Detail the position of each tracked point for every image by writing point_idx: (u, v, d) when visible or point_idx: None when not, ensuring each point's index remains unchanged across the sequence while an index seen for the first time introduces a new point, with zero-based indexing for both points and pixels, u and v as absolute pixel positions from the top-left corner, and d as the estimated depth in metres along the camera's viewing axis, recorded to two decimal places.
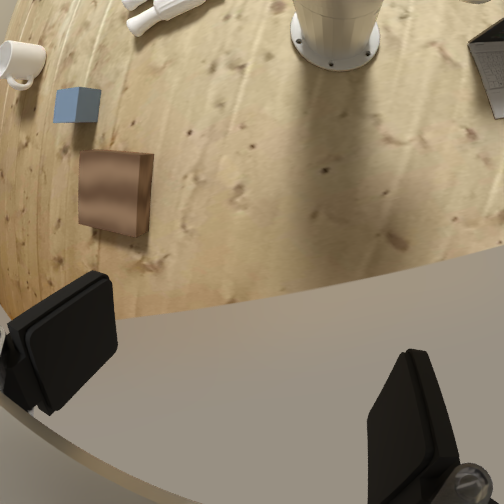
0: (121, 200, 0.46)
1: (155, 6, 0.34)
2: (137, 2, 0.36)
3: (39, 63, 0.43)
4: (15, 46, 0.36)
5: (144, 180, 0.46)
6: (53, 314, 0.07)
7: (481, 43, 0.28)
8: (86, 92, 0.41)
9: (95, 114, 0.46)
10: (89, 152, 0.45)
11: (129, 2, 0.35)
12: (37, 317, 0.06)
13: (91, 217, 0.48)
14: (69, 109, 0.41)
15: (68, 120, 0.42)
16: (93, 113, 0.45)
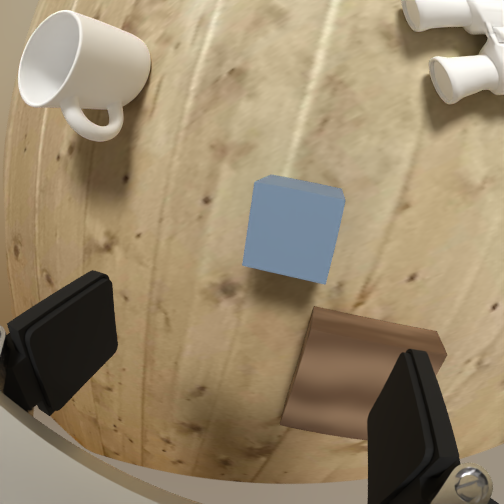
0: None
1: (501, 66, 0.14)
2: (440, 24, 0.16)
3: (139, 77, 0.23)
4: (88, 26, 0.16)
5: None
6: (53, 314, 0.07)
7: None
8: None
9: None
10: (337, 337, 0.24)
11: (431, 17, 0.15)
12: (37, 317, 0.06)
13: (312, 421, 0.28)
14: (306, 249, 0.21)
15: (302, 275, 0.22)
16: None
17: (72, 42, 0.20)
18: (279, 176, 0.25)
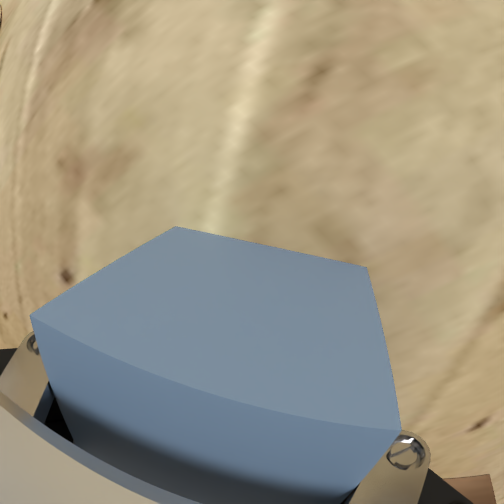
0: None
1: None
2: None
3: None
4: None
5: None
6: None
7: None
8: None
9: None
10: None
11: None
12: None
13: None
14: None
15: None
16: None
17: None
18: (193, 233, 0.09)
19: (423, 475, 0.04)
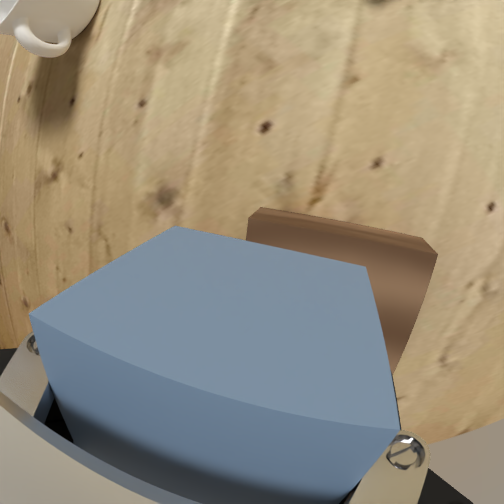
0: None
1: None
2: None
3: (87, 6, 0.19)
4: None
5: None
6: None
7: None
8: None
9: None
10: (284, 227, 0.20)
11: None
12: None
13: None
14: None
15: None
16: None
17: None
18: (192, 233, 0.09)
19: (422, 475, 0.04)
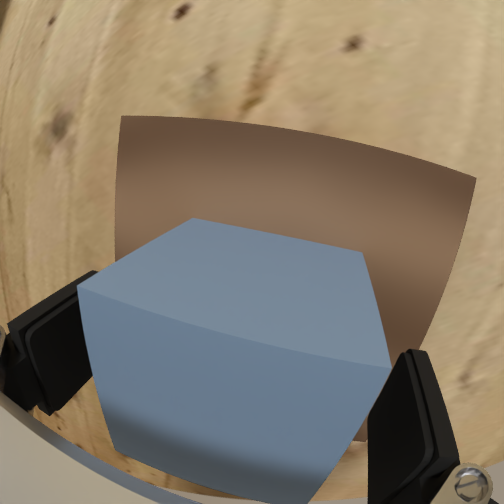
0: None
1: None
2: None
3: None
4: None
5: None
6: (53, 314, 0.07)
7: None
8: None
9: None
10: (173, 122, 0.10)
11: None
12: (37, 317, 0.06)
13: None
14: (253, 465, 0.06)
15: (246, 493, 0.07)
16: None
17: None
18: (209, 223, 0.11)
19: None
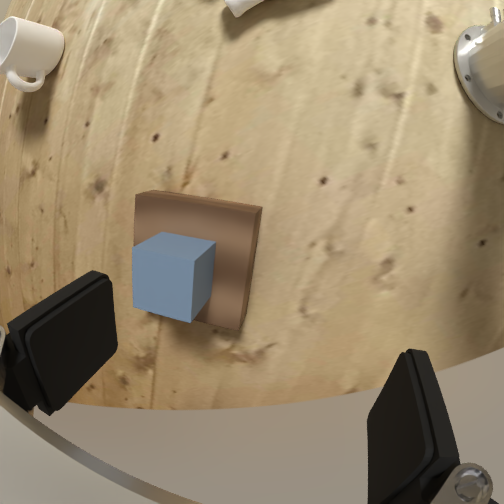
0: (215, 278, 0.32)
1: None
2: None
3: (55, 53, 0.30)
4: (22, 24, 0.22)
5: (253, 249, 0.33)
6: (53, 314, 0.07)
7: None
8: (202, 262, 0.27)
9: (209, 287, 0.32)
10: (154, 198, 0.31)
11: None
12: (37, 317, 0.06)
13: None
14: (173, 297, 0.27)
15: (173, 315, 0.27)
16: (207, 288, 0.31)
17: None
18: (167, 233, 0.31)
19: None
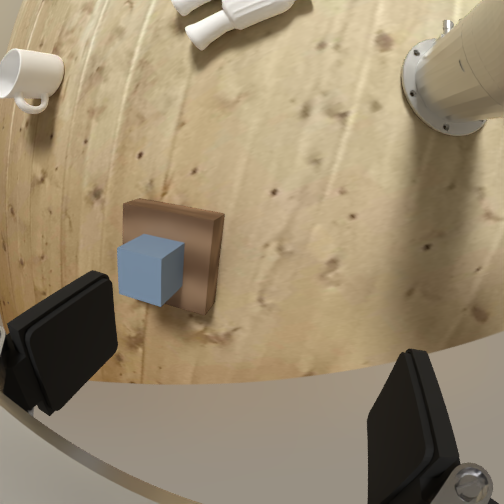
0: (185, 272, 0.39)
1: (227, 10, 0.28)
2: (194, 5, 0.29)
3: (56, 78, 0.37)
4: (25, 56, 0.29)
5: (215, 248, 0.40)
6: (53, 314, 0.07)
7: None
8: (169, 259, 0.35)
9: (179, 279, 0.39)
10: (137, 207, 0.38)
11: (183, 4, 0.29)
12: (37, 317, 0.06)
13: None
14: (147, 286, 0.34)
15: (148, 300, 0.35)
16: (178, 280, 0.38)
17: None
18: (147, 235, 0.39)
19: None
